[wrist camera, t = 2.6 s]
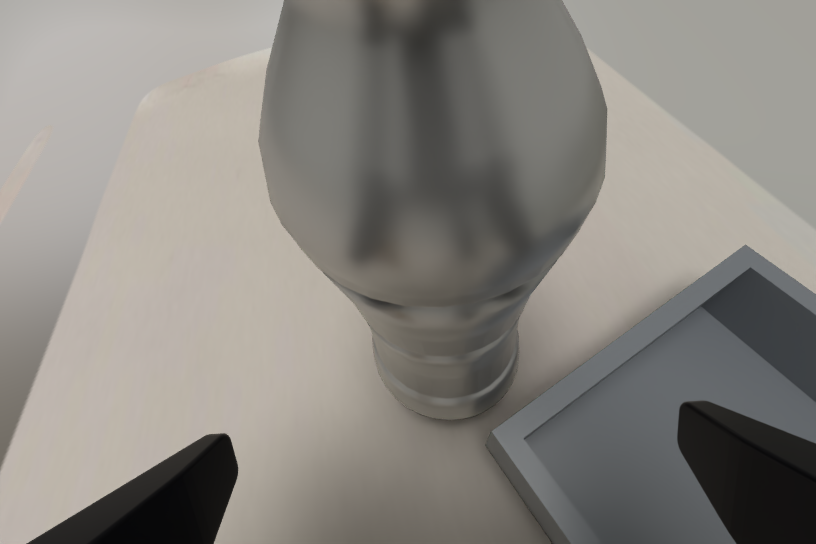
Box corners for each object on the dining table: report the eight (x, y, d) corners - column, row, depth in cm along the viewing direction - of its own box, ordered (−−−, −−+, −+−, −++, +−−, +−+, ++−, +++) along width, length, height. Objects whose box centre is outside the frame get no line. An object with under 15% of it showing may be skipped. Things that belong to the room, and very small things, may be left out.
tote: (769, 858, 12) (920, 1036, 8) (485, 445, 18) (491, 431, 14) (1021, 564, 14) (1231, 589, 10) (692, 291, 21) (745, 244, 17)
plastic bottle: (424, 286, 23) (306, -374, 6) (535, 343, 20) (942, -512, 3) (359, 381, 20) (-196, -241, 3) (475, 459, 18) (779, -400, 1)
